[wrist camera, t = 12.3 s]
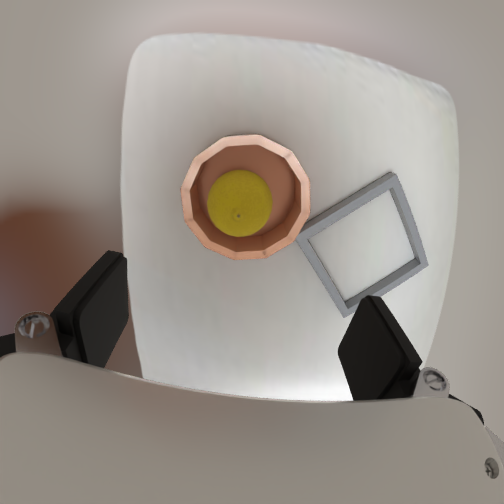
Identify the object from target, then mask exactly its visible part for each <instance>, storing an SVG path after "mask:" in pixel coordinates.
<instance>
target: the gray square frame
mask: <svg viewBox="0 0 504 504" xmlns="http://www.w3.org/2000/svg"><path fill="white" fill-rule="evenodd" d="M387 190H390V192H391V194H392V197H393V199H394V202H395V204H396V206H397V209H398V211H399V214H400V217H401V219H402V222H403V224H404V227H405V230H406V232H407V235H408V238H409V241H410V244H411V247H412V250H413V253H414V256H415V259H414V260H412V261H411V262H409V263H408V264H406V265H404V266H403V267H401V268H400V269H398V270H397V271H395V272H394V273H392V274H391V275H389V276H387V277H386V278H384V279H383V280H381V281H379V282H378V283H376V284H374V285H373V286H371V287H370V288H368V289H366V290H365V291H363V292H361V293H360V294H358V295H356V296H354V297H353V298H351V299H349V300H348V301H346V302H344V301H343V299H342V297H341V295H340V293H339V292H338V290H337V288H336V287H335V285H334V283H333V281H332V280H331V278H330V276H329V274H328V273H327V271H326V269H325V268H324V266H323V264H322V263H321V261H320V259H319V258H318V256H317V254H316V253H315V251H314V249H313V248H312V246H311V244H310V243H309V241H308V239H309V238H310V237H312V236H314V235H315V234H317V233H319V232H320V231H322V230H324V229H325V228H327V227H328V226H330V225H332V224H333V223H335V222H337V221H338V220H340V219H342V218H343V217H345V216H347V215H348V214H350V213H351V212H353V211H355V210H356V209H358V208H360V207H361V206H363V205H365V204H366V203H368V202H369V201H371V200H373V199H374V198H376V197H377V196H379V195H381V194H382V193H384V192H386V191H387ZM296 241H297V243H298V244H299V246H300V247H301V249H302V251H303V252H304V254H305V255H306V257H307V258H308V260H309V262H310V263H311V265H312V266H313V268H314V270H315V271H316V273H317V275H318V276H319V278H320V279H321V281H322V283H323V284H324V286H325V288H326V289H327V291H328V293H329V294H330V296H331V298H332V299H333V301H334V303H335V304H336V306H337V308H338V309H339V311H340V313H341V314H342V316H343V318H345V317H347V316H348V315H350V314H352V313H354V312H355V311H356V309H357V307H358V305H359V303H360V301H361V299H362V298H365V297H366V296H367V295H372V296H379V297H381V296H382V295H384V294H386V293H387V292H389V291H390V290H392V289H394V288H395V287H397V286H398V285H400V284H401V283H403V282H404V281H406V280H408V279H409V278H411V277H412V276H414V275H415V274H417V273H418V272H420V271H421V270H422V269H424V268H425V267H427V266H428V262H427V258H426V255H425V251H424V248H423V245H422V241H421V238H420V235H419V232H418V229H417V226H416V223H415V220H414V218H413V215H412V212H411V209H410V207H409V204H408V201H407V199H406V196H405V194H404V191H403V189H402V186H401V184H400V181H399V179H398V177H397V174H394V173H392V172H389V173H388V174H386V175H384V176H383V177H381V178H379V179H378V180H376V181H375V182H373V183H371V184H370V185H368V186H366V187H365V188H363V189H361V190H360V191H358V192H357V193H355V194H353V195H352V196H350V197H348V198H347V199H345V200H343V201H342V202H340V203H338V204H337V205H335V206H333V207H332V208H330V209H329V210H327V211H325V212H324V213H322V214H320V215H319V216H317V217H315V218H314V219H312V220H310V221H309V222H307V223H305V224H304V225H303V227H302V229H301V230H300V232H299V234H298V235H297V237H296Z"/></svg>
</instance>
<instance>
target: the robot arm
mask: <svg viewBox="0 0 504 504" xmlns="http://www.w3.org/2000/svg"><path fill="white" fill-rule="evenodd" d="M128 316H129V313H128V288H127V258H125V257H123V254H122V253H119V252H115V251H109V250H108V251H107V252H106V253H105V254H104V255H103V256H102V257H101V258H100V259H99V260H98V261H97V262H96V263H95V264H94V265H93V266H92V267H91V269H89V271H88V272H87V273H86V274H85V275H84V276H83V277H82V278H81V279H80V280H79V281H78V282H77V283H76V285H75V286H74V287H73V288H72V289H71V290H70V291H69V292H68V293H67V295H66V296H65V297H64V298H63V299H62V300H61V302H60V303H59V304H58V305H57V306H56V307H55V309H54V310H53V312H52V313H51V314H50V315H48V314H46V313H44V312H30V313H27V314H25V315H23V316H22V317H21V318H20V319H19V320H18V321H17V323H16V325H15V333H13V334H9V335H5V336H1V337H0V504H504V442H502V441H501V440H500V439H499V438H498V437H497V436H496V435H495V434H494V433H493V432H492V431H491V430H490V429H489V428H488V427H484V422H483V418H482V415H481V413H480V412H479V411H478V410H477V409H475V408H473V407H471V406H469V405H468V404H466V403H464V402H462V401H461V400H459V399H457V398H455V397H454V396H452V395H450V394H449V388H450V387H449V382H448V380H447V378H446V377H445V375H444V374H442V373H441V372H440V371H438V370H437V369H434V368H430V367H426V368H423V369H422V370H421V371H420V369H419V366H420V365H421V363H422V360H421V358H420V357H419V355H418V353H417V352H416V350H415V349H414V347H413V345H412V344H411V342H410V341H409V339H408V337H407V336H406V334H405V333H404V331H403V330H402V328H401V327H400V325H399V324H398V322H397V320H396V319H395V317H394V316H393V314H392V313H391V311H390V310H389V308H388V307H387V306H386V304H385V303H384V301H383V300H382V298H381V297H379V296H372V295H367V296H366V297H365V298H362V299H361V301H360V303H359V305H358V307H357V309H356V312H355V314H354V316H353V318H352V320H351V322H350V324H349V327H348V329H347V331H346V333H345V335H344V337H343V339H342V341H341V343H340V345H339V347H338V356H339V359H340V361H341V364H342V367H343V370H344V373H345V376H346V379H347V382H348V385H349V388H350V391H351V394H352V397H353V400H354V401H305V400H284V399H269V398H258V397H248V396H239V395H230V394H223V393H216V392H209V391H202V390H196V389H191V388H185V387H180V386H174V385H169V384H165V383H160V382H155V381H151V380H147V379H142V378H138V377H134V376H130V375H126V374H122V373H119V372H115V371H111V370H108V369H104V367H105V365H106V363H107V361H108V359H109V357H110V355H111V353H112V351H113V349H114V347H115V345H116V343H117V341H118V339H119V337H120V335H121V333H122V331H123V329H124V327H125V326H126V324H127V321H128Z"/></svg>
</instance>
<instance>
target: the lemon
mask: <svg viewBox="0 0 504 504" xmlns="http://www.w3.org/2000/svg"><path fill="white" fill-rule="evenodd" d="M272 204H273V200H272V194H271V191H270V189H269V187H268V185H267V183H266V182H265V181H264V180H263V178H261V177H260V176H258V175H257V174H256V173H253V172H251V171H248V170H233V171H230V172H227V173H225V174H223V175H222V176H220V177H219V178H218V179H217V180H216V181H215V182H214V184H213V185H212V187H211V189H210V191H209V194H208V200H207V207H208V213H209V215H210V218H211V220H212V222H213V223H214V224H215V226H216V227H217V228H218V229H219V230H221V231H222V232H224V233H226V234H228V235H231V236H235V237H244V236H248V235H251V234H253V233H255V232H257V231H259V230H260V229H261V228H262V227H263V226H264V225H265V223H266V222H267V221H268V219H269V217H270V214H271V211H272Z"/></svg>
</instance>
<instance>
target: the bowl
mask: <svg viewBox="0 0 504 504" xmlns="http://www.w3.org/2000/svg"><path fill="white" fill-rule="evenodd" d="M233 170H248V171H251V172H253V173H256V174H257V175H258V176H260V177H261V178H263V180H264V181H265V182H266V183H267V185H268V187H269V189H270V191H271V194H272V200H273V204H272V211H271V214H270V217H269V219H268V221H267V222H266V223H265V225H264V226H263V227H262V228H261V229H260V230H259V231H257V232H255V233H253V234H251V235H248V236H244V237H235V236H231V235H228V234H226V233H224V232H222V231H221V230H219V229H218V228H217V227H216V226H215V224H214V223H213V222H212V220H211V218H210V215H209V213H208V207H207V200H208V194H209V191H210V189H211V187H212V185H213V184H214V182H215V181H216V180H217V179H218V178H219V177H220V176H222V175H223V174H225V173H227V172H230V171H233ZM180 191H181V198H182V206H183V213H184V220H185V223H186V224H187V225H188V226H189V228H190V229H191V230H192V232H193V233H194V234H195V235H196V237H197V238H198V239H199V241H200V242H201V243H202V244H203V246H204V247H206V248H208V249H210V250H212V251H215V252H217V253H219V254H221V255H224V256H226V257H228V258H231V259H233V260H242V259H259V258H267V257H269V256H270V255H272V254H274V253H276V252H277V251H279V250H281V249H282V248H284V247H286V246H287V245H289V244H291V243H292V242H294V240H295V239H296V237H297V235H298V234H299V232H300V230H301V229H302V227H303V225H304V223H305V222H306V220H307V218H308V217H309V215H310V180H309V178H308V176H307V175H306V173H305V171H304V170H303V168H302V167H301V165H300V163H299V162H298V160H297V158H296V157H295V155H294V154H293V152H292V151H291V150H289V149H287V148H285V147H283V146H281V145H279V144H277V143H275V142H273V141H271V140H269V139H267V138H265V137H263V136H261V135H259V134H248V135H234V136H226V137H223V138H222V139H220V140H219V141H217V142H216V143H214V144H213V145H211V146H210V147H209V148H207V149H206V150H204V151H203V152H202V153H200V154H199V155H197V156H196V157H195V158H194V159H193V161H192V163H191V166H190V168H189V170H188V172H187V175H186V177H185V179H184V182H183V184H182V186H181V189H180Z"/></svg>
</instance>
